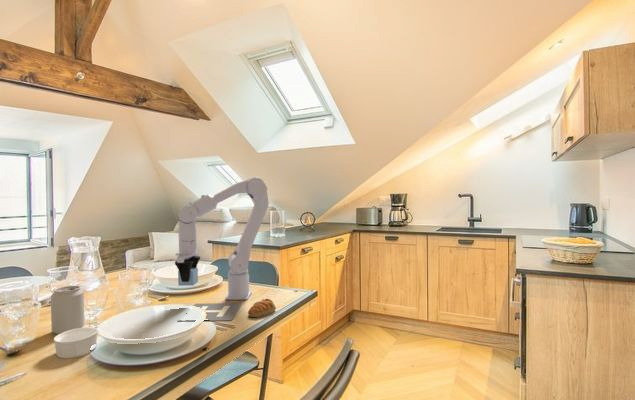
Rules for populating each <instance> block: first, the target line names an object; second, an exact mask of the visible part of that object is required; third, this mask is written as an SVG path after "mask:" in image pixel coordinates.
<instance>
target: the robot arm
mask: <svg viewBox="0 0 635 400" xmlns="http://www.w3.org/2000/svg"><path fill="white" fill-rule="evenodd" d="M238 194H247V195H248V196H249V197H250V199H251V201H252V202H253V203H252V204H253V207H252V210H251V212H250V215H249V217H248V220H247V221H246V225H245V226H244V230H243V232H242V233H241V236H240V239H239V241H238V244H237V245H236V247H235V248H234V250H233V252H232V253H231V254H230V255H228V258H227V264H228V266H229V270H228V271H227V286H228V287H227V288H228V289H227V290H228V291H227V293H228V294H227V295H226V296H225V297H224V300H225V301H227V300H230V301H235V300H239V301H241V300H243V301H244V300H248V299H249V298H250V296H251V295H252V293H253V291H252V290H250V275H249V270H248V269H249V266H250V263H249V260H250V258H251V250H252V247H253V245H254V242H255V240H256V238H257V235H258V233H259V230H260V227H261V225H262V222H263V220H264V218H265V215H266V213H267V211H268V208H269V205H270V202H269V196H268V187H267V185H266V183H265V182H264V180H263V179H262V178H260V177H258V176H255V177H249V178H247V179H245V180H242V181H239V182H236V183H234V184H232V185H230V186H229V187H227V188H225V189H223V190H221V191H220V192H217V193H216V194H214V195H212V194H202V195H200V198H198V199H195V200H194V201H192V202H191V201H189V202H188V203H187V204H188V205H184V206H182V207H181V208H180V209H179V210H178V213H177V216H178V219H179V221H178V226H179V227H178V252H175V256H176V261H174V265H175V266H176V268H177V270H178V271H179V272H180V276H181V279H182V282H188V281H189V278H190V270H191V268H198V263H199V262H200V259H201V256H200V255H199V254H198V253H199V252H198V251H199V250H198V249H197V226H196V219H197V217H199V218H201V217H202V216H204V215H207V214H208V213H210V212H212V211H214V210H215V209H217V205H218V204H220V203H221V202H224V201H226V200H227V199H229V198H232V197H233V196H235V195H238ZM198 255H199V256H198Z"/></svg>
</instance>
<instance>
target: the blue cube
mask: <svg viewBox="0 0 635 400" xmlns="http://www.w3.org/2000/svg"><path fill="white" fill-rule="evenodd" d="M198 271H199V268H198V267H196V268H191V270H190V278H189V281H188V282H182V279H181V276H180V272H179V270H178V271H177V276H178V278H177V281H178V284H177V285H178V287H179V286H186V287H187V286H194V285H196V284H197V283H198V282H199V272H198Z"/></svg>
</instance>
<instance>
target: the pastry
mask: <svg viewBox="0 0 635 400" xmlns="http://www.w3.org/2000/svg"><path fill="white" fill-rule="evenodd" d="M276 309H277V308H276V306H275V303H274V301H273V300H272V299H270V298H265V299H261V300H258V301H256V302H255V303H253V305H252V306H250V308H249V309H248V311H247V314H248V317H254V318H261V317H265V316H268V315H270V314H272V313H274V312H275V310H276Z"/></svg>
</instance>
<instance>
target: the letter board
mask: <svg viewBox="0 0 635 400" xmlns="http://www.w3.org/2000/svg"><path fill="white" fill-rule="evenodd" d="M242 305H243V302H233V303H231V302H230V303H229V302H228V303H227V302H223V303H220V302H219V303H217V302H216V303H215V302H214V303H212V302H211V303H194V304H193V305H192V306H196V307H200V308H202V309H204V310H205V311H206V314H207V316H206V319H208V320H210V321H209V322H232V320H233V318H235V316H236V314H237V313H238V311H239V310H240V308H241V306H242Z"/></svg>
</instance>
